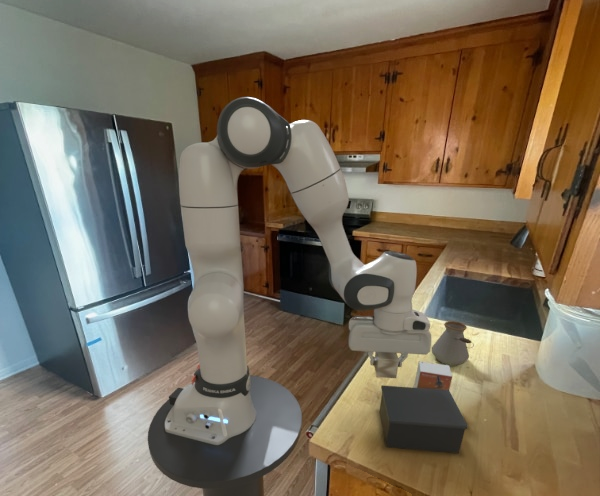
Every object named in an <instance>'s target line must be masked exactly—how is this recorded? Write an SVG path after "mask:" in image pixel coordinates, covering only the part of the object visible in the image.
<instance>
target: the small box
mask: <svg viewBox="0 0 600 496" xmlns="http://www.w3.org/2000/svg"><path fill="white" fill-rule="evenodd" d="M452 380H453V374H452V370H451V367H450V365H446V364H440V363H433V362H427V361H422V360H418V364H417V369H416V374H415V379H414V385H413V388H425V389H440V390H449V391H450V388H451V384H452Z"/></svg>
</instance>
